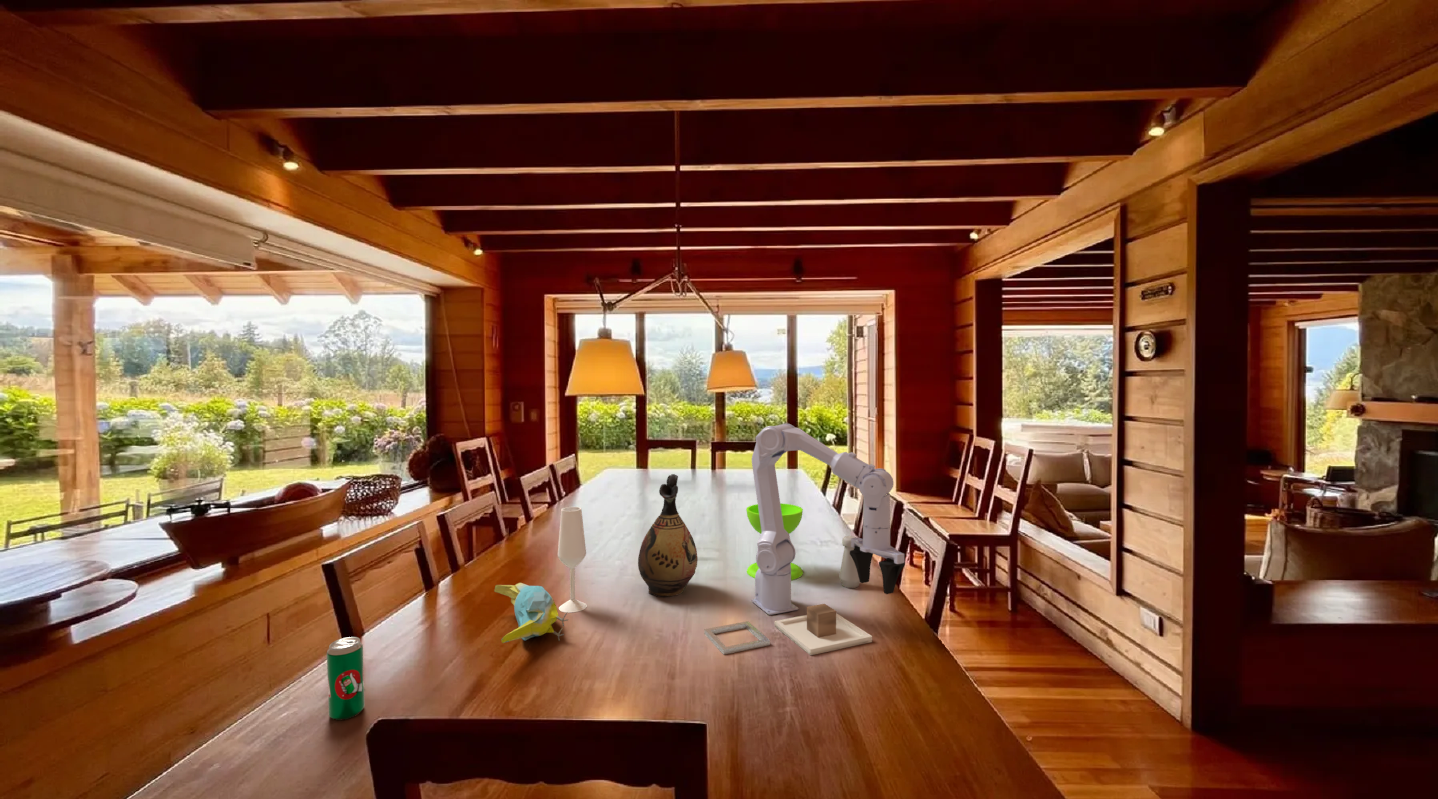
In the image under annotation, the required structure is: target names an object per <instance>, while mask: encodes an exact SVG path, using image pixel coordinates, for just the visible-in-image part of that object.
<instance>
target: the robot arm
mask: <svg viewBox="0 0 1438 799" xmlns="http://www.w3.org/2000/svg"><path fill="white" fill-rule="evenodd" d="M755 442H756V443H755V446H754V449H753V452H752V455H751V467H752V474H753V479H754V487H755V494H756V501H757V504H758V509H759V516H760V523H761V530H762V533H761V534H759V537H758V540H757V543H756V545H757V551H756V552H757V553H756V556H755V561H756V562H755V563H757V565H758V567H759V569H758V570H757V572H756V575H755V578H754V598H752V599H751V602H752V603H753V604H755V605H756V606H757V607H758V608H760V609H761V610H762V611H763V612H764V613H766V614H767V615H769V616H771V615H776V614H778V615H779V614H782V613H788V612H793V611H798V610H799V607H798V606H796V605H795V604H793V603H792V580H791V563H793V561H794V560H795V558H796V553H797V552H796V548H795V546H794V545H793V543H792V541H791V537H790V534H789V533H788V532H787V531H786V530H785V529H784V526H783V519H782V512H781V505H780V503H781V499H780V493H779V492H780V491H779V486H778V479H777V472H776V463H777V462H778V461H779V459H780V458H781V457H782V456H783V455H784V454H786V453H788V452H791V451H792V452H793V451H801V452H803V453H804V454H806V455H808V456H810V457H813V458H815V460H816V459H817V460H819V461H820V462H822V463H824V464H826V465H828V466H830V468H831V472H832V474H833V475H835V476H836V477H837V478H839V479H842V481H845V482H846V483H849V484H850V485H852V486H853V487H854V488H856V489H859V491H860V494H861V496H863V504H862V513H863V514H862V519H863V520H862V538H860V537H857V536H856V538H851V547H853V548H855V549H854V550H851V551H850V555H851V557H852V559H853V561H854V563H855V566H856V569H857V572H858V576H859V580H860V584H864V583H868V582H869V581H870V576H871V563H872V561H873V560H872V559H873V556H874V555H876V556H879V557H881V558H883V559H886V560H882V561H878V565H879V568H880V571H881V575H882V586H883V587H882V588H883V589H882V590H883V592H884V594H885V595H890V594H894V592H895V588H896V584H897V580H898V577H899V576H900V574H901V572H902V570H903V569H904V567H905V566H906V562H905V553H904V552H901V551H898V550H897V549H896V548H894V547H893V546H892V545H891V494H890V492H891V491H892V490H893V488H894V478H893V477H892V475H891V473H890V472H888V471H887V470H886V469H885V468H881V467H880V468H876V466H875V465H874V464H872V463H870V464H868V463H867V462H864V460H861V459H860V458H857V453H855V452H852V451H851V452H847V451H844V452H840V453H839V452H837V451H835V450H833V449H832V448H830V447H828V446H827V445H825V444H824V443H823V442H821V441H820V440H818V439H816V438H815V437H813V436H812V435H809V434H808V433H807V432H806V431H804V430H803V429H801V428H799V427H795V426H794V425H792V424H790V423H782V424H778V425H769V426H765V427H763V428H762V429H761V430H760V432H759V433H757V435H756V436H755Z"/></svg>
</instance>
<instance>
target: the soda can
mask: <svg viewBox="0 0 1438 799" xmlns="http://www.w3.org/2000/svg"><path fill="white" fill-rule="evenodd" d="M363 647H364V644H363V643H362V642H361V639H360V638H359V637H357V636H351V637H350V636H349V637H343V638H339V639H337V640H334V641H333V642H331V643H330V644H329V647H328V649H327V650H326V651H327V652H326V672H327V676H326V677H327V700H328V701H327V703H328V706H327V707H328V716H329V718H331V719H332V720H334V719H336V720H335V721H342V720H341V719H345V720H347V719H351V717H352V718H353V716H354V717H355V715H356V716H358V715H359V714H360V713H361V712H362V711H363V710H364V708H365V705H366V704H365V678H364V677H365V674H364V648H363ZM359 712H360V713H359ZM358 713H359V714H358Z"/></svg>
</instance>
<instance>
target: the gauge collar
mask: <svg viewBox="0 0 1438 799" xmlns="http://www.w3.org/2000/svg"><path fill="white" fill-rule="evenodd" d="M743 629H746V630H747V631H748V632H750V633H751V635H753V636H754V637H755V638H757V639H758V640H754V641H749V642H743V643H738V644H734V645H728V646H726V645H725V644H724V643H723V642H722V641H721V640H720V639H719V638H718V637H717V634H723V633H727V632H733V631H738V630H743ZM703 632H704V633H703V634H704V635H705V636H706V638H707V639H709V641H710V642H711V643H712V644H713V645H714V646H715V647H716V649H718V650H719V652H721V654H723V655H728V654H733V653H737V652H738V653H739V652H742V651H749V650H753V649H757V648H758V649H759V648H763V647H768V646H770V645H771V640H770V639H769V638H768V637H767V636H766V635H764V634H763V633H762V632H761V631H760V630H759V629H758V628H757V627H756V626H754V625H753V624H752V623H751V622H749V620H748V621H742V622H737V623H732V624H725V625H720V626H715V627H710V628H709V627H708V628H704V630H703Z"/></svg>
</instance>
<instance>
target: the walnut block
mask: <svg viewBox="0 0 1438 799" xmlns="http://www.w3.org/2000/svg"><path fill="white" fill-rule="evenodd" d="M836 613H837V610H835V609H834V608H832V607H830V606H829V605H827V604H826V603H821V604H820V603H819V604H815V605H809V606H806V615H807V630H808V631H810V632H811V633H812V634H814V635H815V636H816V637H818V638H820V637H824V636H829V635H834V634H836Z"/></svg>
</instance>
